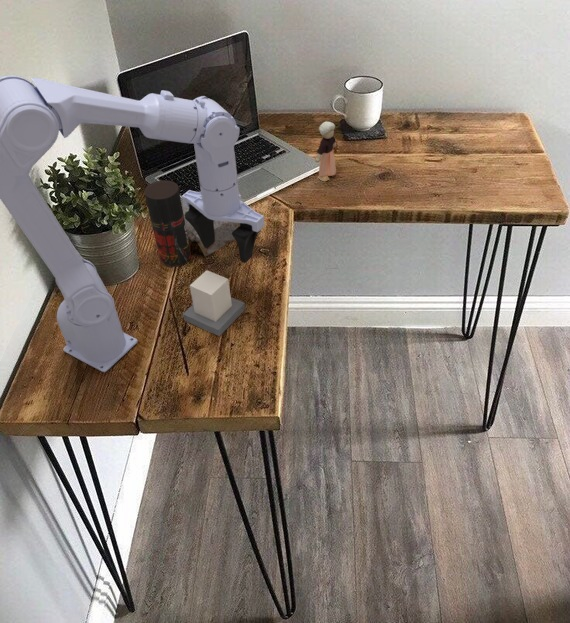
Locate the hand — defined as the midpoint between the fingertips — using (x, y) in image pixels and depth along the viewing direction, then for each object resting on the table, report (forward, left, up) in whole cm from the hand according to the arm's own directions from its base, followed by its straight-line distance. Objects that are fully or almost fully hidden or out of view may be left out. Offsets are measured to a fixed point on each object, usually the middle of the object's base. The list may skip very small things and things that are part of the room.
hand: (227, 251), depth 105 cm
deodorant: (-16, +3, -10) cm, 19 cm away
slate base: (0, -6, -10) cm, 11 cm away
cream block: (0, -6, -8) cm, 10 cm away
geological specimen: (-15, +14, -10) cm, 23 cm away
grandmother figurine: (-5, +42, -10) cm, 43 cm away
